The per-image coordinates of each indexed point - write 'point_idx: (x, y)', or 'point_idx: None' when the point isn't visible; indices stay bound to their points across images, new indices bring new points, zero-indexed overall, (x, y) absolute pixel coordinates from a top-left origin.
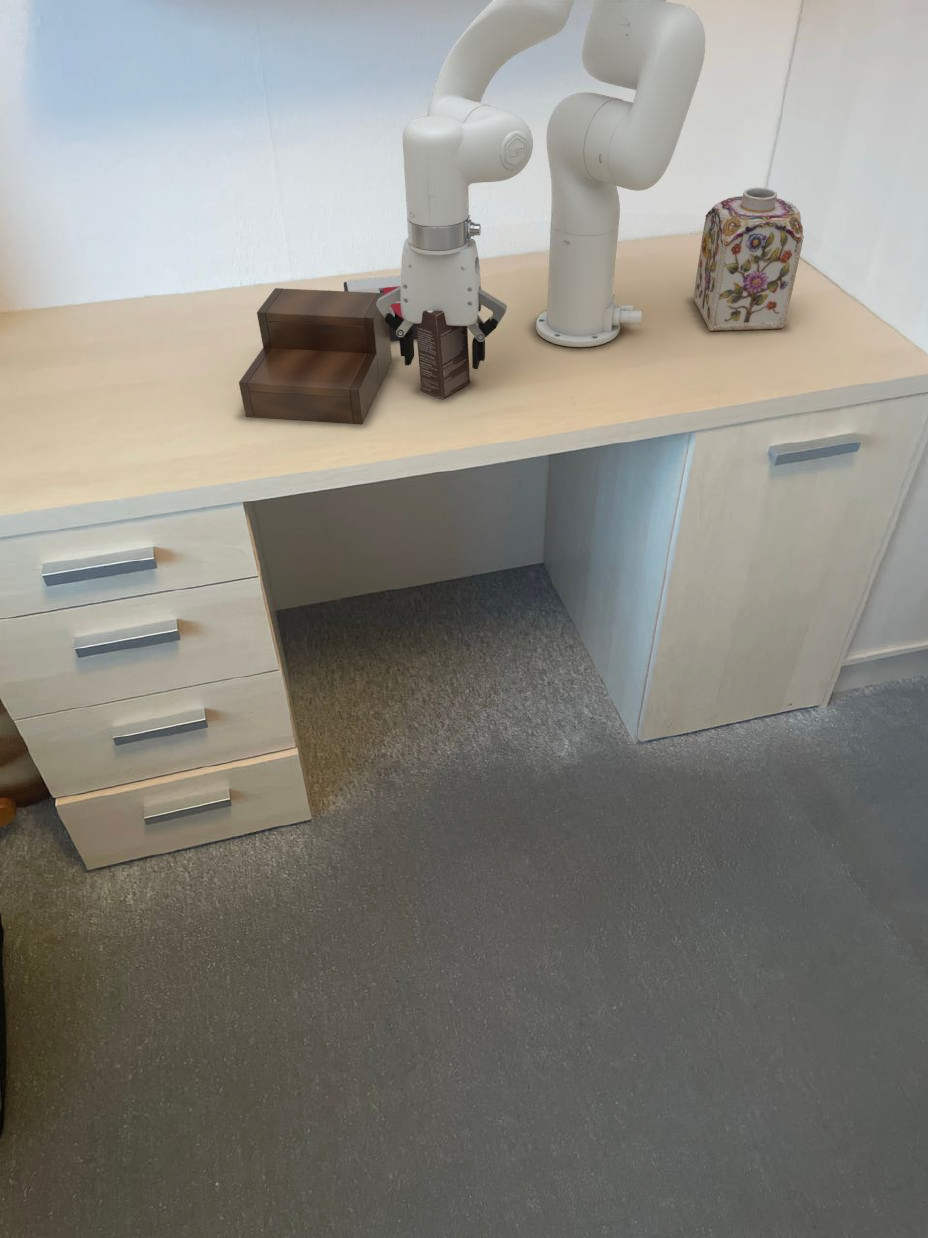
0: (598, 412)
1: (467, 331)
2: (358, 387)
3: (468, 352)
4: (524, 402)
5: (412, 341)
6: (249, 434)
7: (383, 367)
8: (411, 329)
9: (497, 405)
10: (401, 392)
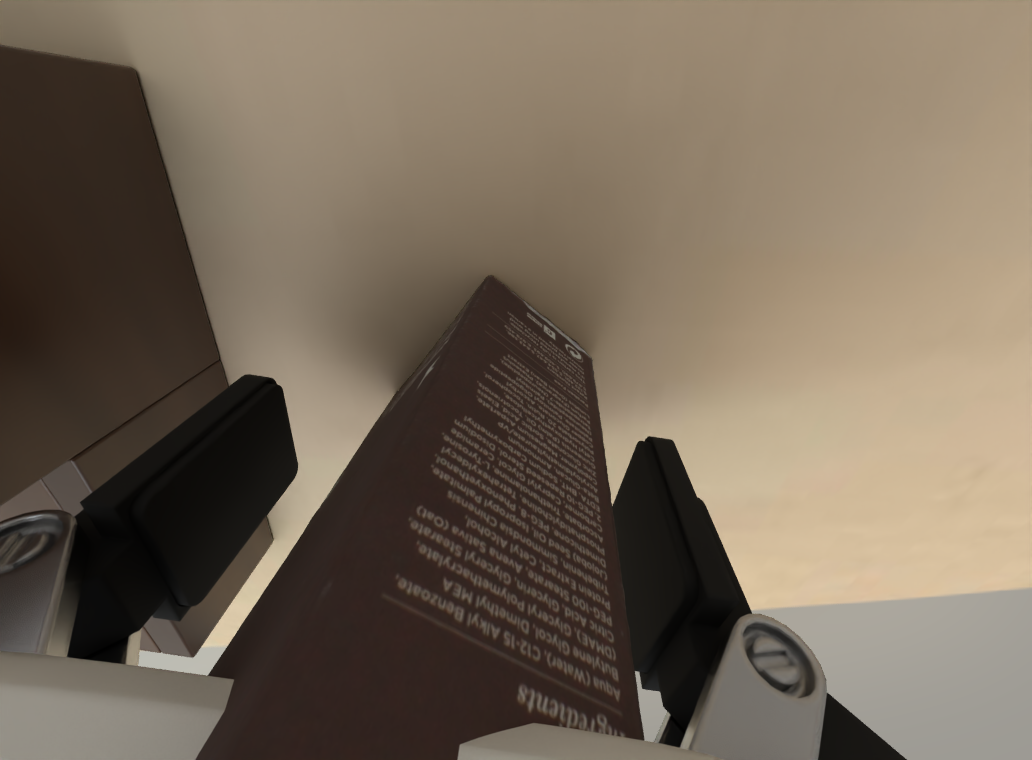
0: (1004, 549)
1: (622, 587)
2: (185, 650)
3: (604, 455)
4: (776, 485)
5: (216, 477)
6: None
7: (156, 290)
8: (127, 509)
9: None
10: (321, 398)
